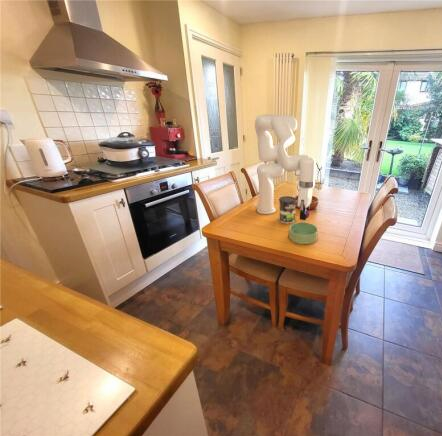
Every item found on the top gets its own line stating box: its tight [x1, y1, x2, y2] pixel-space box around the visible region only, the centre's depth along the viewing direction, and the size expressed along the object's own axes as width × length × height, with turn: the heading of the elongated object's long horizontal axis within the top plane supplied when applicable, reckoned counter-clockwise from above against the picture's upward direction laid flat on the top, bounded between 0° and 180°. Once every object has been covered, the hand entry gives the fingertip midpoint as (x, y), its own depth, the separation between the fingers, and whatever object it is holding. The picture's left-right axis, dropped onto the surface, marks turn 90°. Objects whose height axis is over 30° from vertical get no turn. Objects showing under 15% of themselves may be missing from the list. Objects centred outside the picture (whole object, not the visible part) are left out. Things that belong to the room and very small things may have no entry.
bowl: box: [288, 221, 319, 245], centre depth 126 cm, size 15×15×6 cm
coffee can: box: [278, 195, 297, 225], centre depth 144 cm, size 10×10×14 cm
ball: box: [304, 209, 310, 219], centre depth 121 cm, size 5×5×5 cm
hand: (304, 217), depth 122 cm, fingers closed on ball, 4 cm apart
